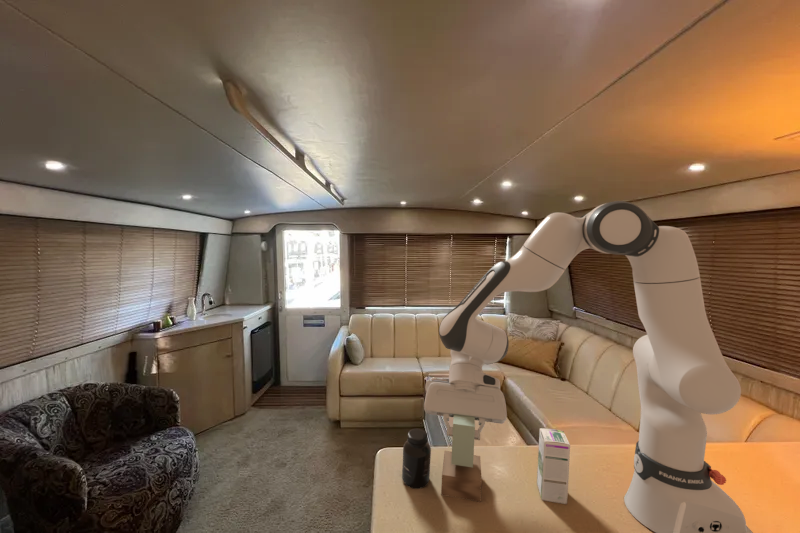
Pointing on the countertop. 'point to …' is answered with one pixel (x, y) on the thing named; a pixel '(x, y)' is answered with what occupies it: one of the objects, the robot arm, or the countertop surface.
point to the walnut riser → (461, 479)
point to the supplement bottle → (416, 459)
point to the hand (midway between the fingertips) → (463, 437)
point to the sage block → (463, 440)
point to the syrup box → (553, 465)
